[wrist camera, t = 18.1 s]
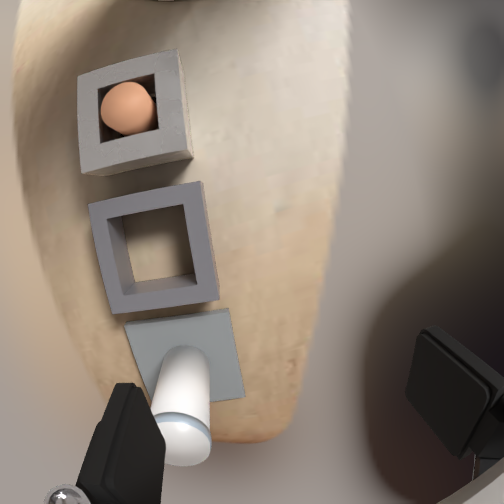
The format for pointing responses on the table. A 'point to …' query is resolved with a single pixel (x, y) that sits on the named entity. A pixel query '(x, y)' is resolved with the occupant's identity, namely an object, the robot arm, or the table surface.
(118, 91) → the release button
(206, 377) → the cylinder
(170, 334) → the slate mat
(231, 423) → the table surface
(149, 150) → the frame
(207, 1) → the table surface
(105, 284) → the frame
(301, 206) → the table surface
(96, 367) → the table surface
